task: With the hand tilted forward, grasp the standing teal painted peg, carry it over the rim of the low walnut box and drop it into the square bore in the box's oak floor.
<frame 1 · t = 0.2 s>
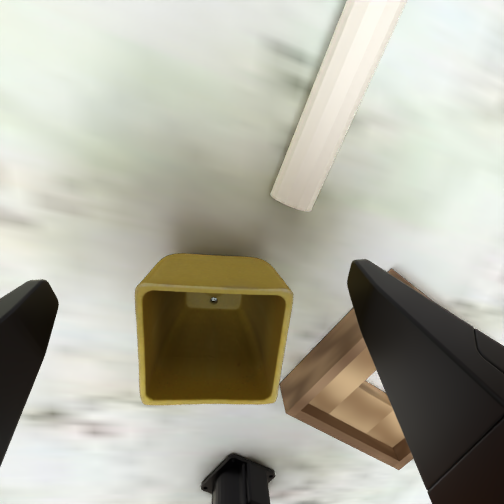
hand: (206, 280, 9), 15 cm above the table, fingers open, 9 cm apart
bore box: (386, 365, 32), on the table
flower pot: (216, 280, 27), on the table
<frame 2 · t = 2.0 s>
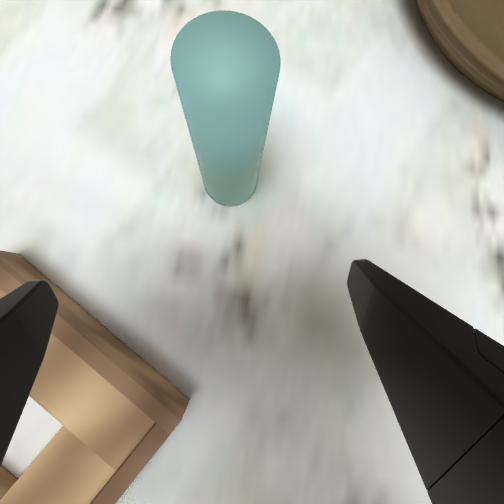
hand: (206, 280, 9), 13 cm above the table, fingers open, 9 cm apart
bore box: (20, 420, 21), on the table
peg: (230, 180, 24), on the table
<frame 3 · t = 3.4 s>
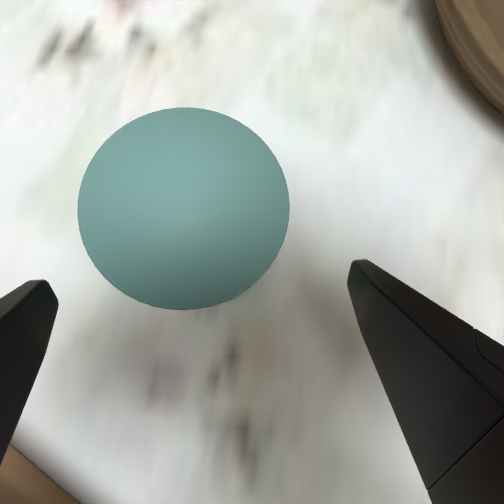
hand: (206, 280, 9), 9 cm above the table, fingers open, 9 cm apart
peg: (218, 268, 18), on the table
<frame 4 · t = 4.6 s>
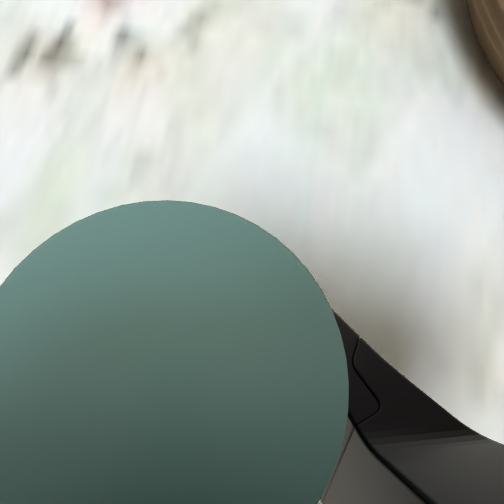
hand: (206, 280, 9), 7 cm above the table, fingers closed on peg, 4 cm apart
peg: (219, 313, 16), on the table, touching gripper
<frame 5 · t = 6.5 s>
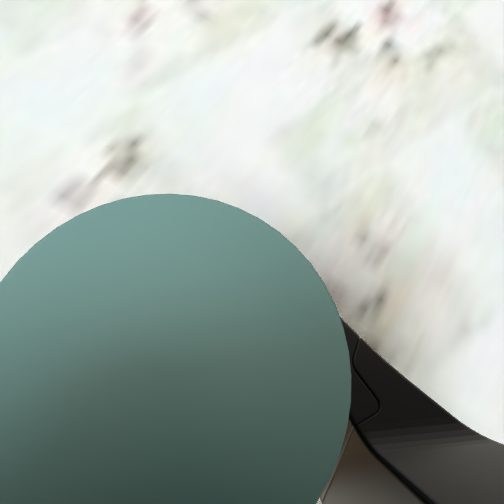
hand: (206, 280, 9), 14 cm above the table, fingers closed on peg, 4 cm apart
peg: (219, 312, 16), point 7 cm above the table, touching gripper
when the fingers open (9 cm above the table, at t = 8.1 s): peg drops 3 cm, resting in bore box.
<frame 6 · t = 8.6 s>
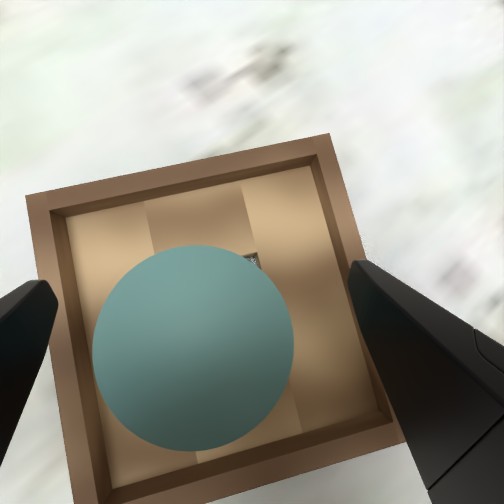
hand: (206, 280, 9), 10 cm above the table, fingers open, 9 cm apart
bore box: (221, 310, 18), on the table
peg: (221, 311, 19), resting in bore box
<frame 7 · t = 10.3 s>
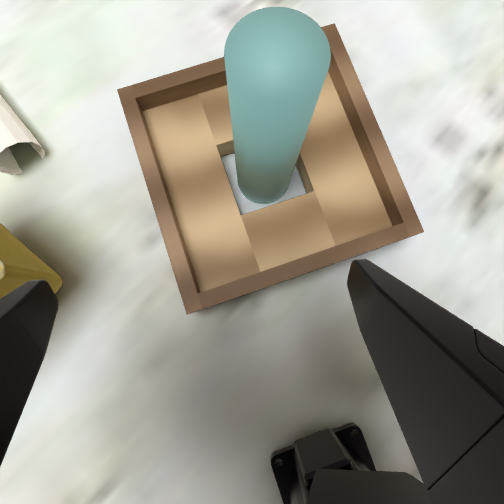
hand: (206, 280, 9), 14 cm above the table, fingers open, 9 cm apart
bore box: (263, 178, 24), on the table
peg: (263, 178, 24), resting in bore box
flower pot: (18, 287, 23), on the table
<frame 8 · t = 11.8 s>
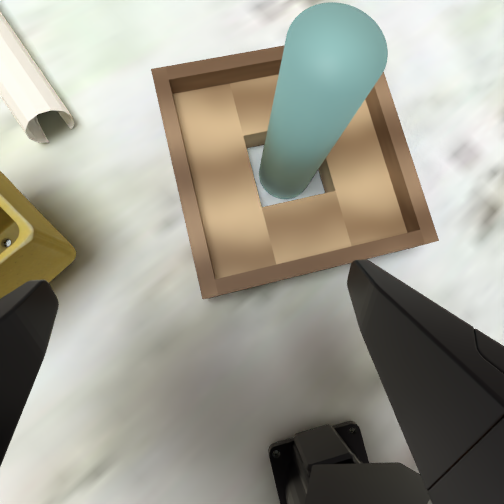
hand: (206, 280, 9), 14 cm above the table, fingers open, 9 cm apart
bore box: (284, 174, 24), on the table
peg: (284, 174, 24), resting in bore box
flower pot: (27, 257, 22), on the table
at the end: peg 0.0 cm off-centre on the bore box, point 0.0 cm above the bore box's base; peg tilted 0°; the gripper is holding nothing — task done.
